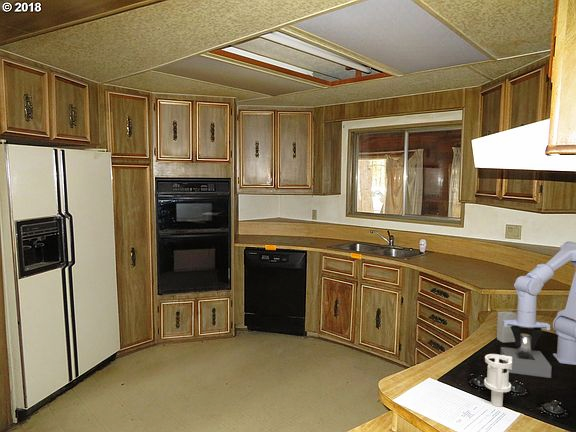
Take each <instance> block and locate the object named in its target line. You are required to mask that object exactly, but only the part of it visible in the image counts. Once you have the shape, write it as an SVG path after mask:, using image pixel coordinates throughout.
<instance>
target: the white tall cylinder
mask: <svg viewBox="0 0 576 432" xmlns="http://www.w3.org/2000/svg"><path fill="white" fill-rule="evenodd" d="M490 359H494V361H492V360H490ZM500 360H501V361H502V360H505V361H507V362H508V363H506V364H504V363H503V362H500ZM484 362H485V363H486V364H487V371H486V372H487V375H486V376H487V377H485V378H484V382H483V384H484V387H486V388H487V389H489V390H491V393H490V394H491V396H490V397H491V399H490V404H491V405H492V406H493V407H497V408H502V407H503V401H504V393H508V392H510V391H511V390H512V384H511V382H509V377H510V376H509V375H510V373H509V371H508V370H506V369H510V370H512V357H511V356H505V355H501V354H497V353H489V354H485V356H484ZM504 370H506V372H504Z"/></svg>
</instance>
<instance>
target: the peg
mask: <svg viewBox="0 0 576 432" xmlns="http://www.w3.org/2000/svg"><path fill="white" fill-rule="evenodd" d="M531 345H532V336H531V334H528V333H522V332H521V335H520V348H517V349H518V354H519V355H521V356H524V357H530V356H531V350H532V348H531Z"/></svg>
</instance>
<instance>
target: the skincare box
mask: <svg viewBox="0 0 576 432" xmlns="http://www.w3.org/2000/svg"><path fill="white" fill-rule="evenodd" d="M503 320H517V313H515V312H513V311H511V310H510V311H497V322H496V323H497V326H496V328H497V329H496V339H497V340H498V341H499V342H501V343H516V342H515V338H514V335H513V332H512V330H511V328H510V326H507V327H504V326H503Z"/></svg>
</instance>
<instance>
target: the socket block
mask: <svg viewBox="0 0 576 432" xmlns="http://www.w3.org/2000/svg"><path fill="white" fill-rule="evenodd" d="M500 355H505V356H511V357H512V370H510V369H505V371H507V370H508V371H509V374H510V373H511V374H518V375H525V376H533V377H541V378H547V379H548V378H550V379H551V378H552V365H551V364H550V362H549V361H548V360H547V358H546V357H545V356H544V355H543V353H542V352H541V351H540V350H534V349H531V356H530V357H524V356H521V355H519V354H518V348H515V347H514V348H513V347H506V346H504V347H503V346H500ZM501 361H502V364H506V363H508V362H507V361H505V360H502V359H501Z"/></svg>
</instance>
